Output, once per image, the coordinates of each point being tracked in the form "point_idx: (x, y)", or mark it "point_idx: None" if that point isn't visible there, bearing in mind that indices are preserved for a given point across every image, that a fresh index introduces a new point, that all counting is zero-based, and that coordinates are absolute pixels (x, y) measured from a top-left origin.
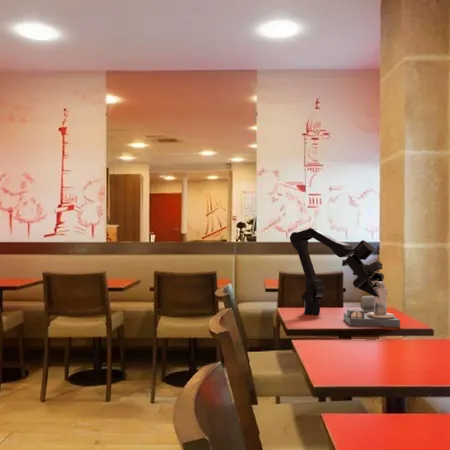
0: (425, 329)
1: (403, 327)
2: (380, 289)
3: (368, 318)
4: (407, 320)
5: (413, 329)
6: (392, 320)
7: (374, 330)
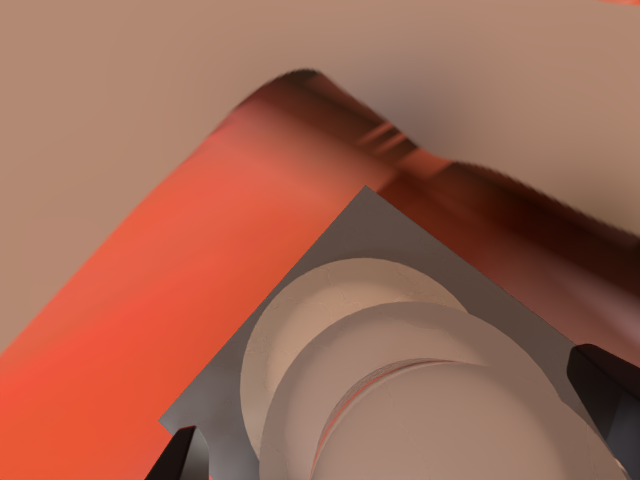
0: (271, 95)
1: (333, 198)
2: (526, 362)
3: (549, 374)
4: (48, 351)
5: (336, 129)
6: (410, 221)
7: (606, 233)
